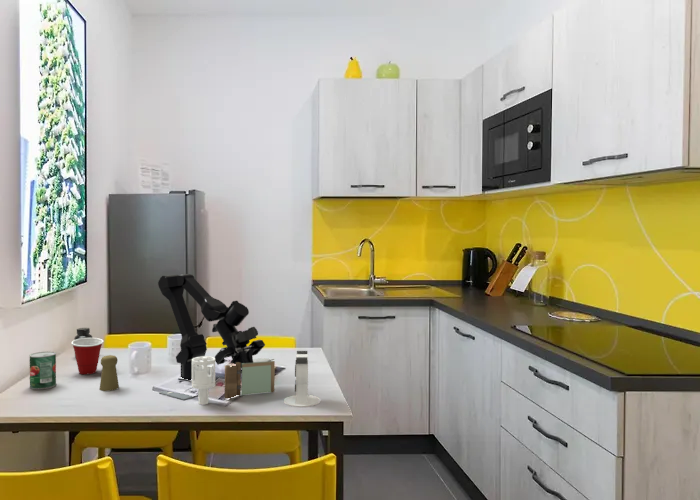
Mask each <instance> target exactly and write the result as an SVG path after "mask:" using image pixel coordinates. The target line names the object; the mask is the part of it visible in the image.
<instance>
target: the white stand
mask: <svg viewBox="0 0 700 500" xmlns="http://www.w3.org/2000/svg"><path fill="white" fill-rule="evenodd" d="M294 377H295V381H294V382H295V383H294V392H295V395H290V396H287V397H285V398H284V400H283V402H284V404H285V405H287V406H289V407H295V408H308V407H312V406H316V405H318V404H320V402H321V399H320V398H319V397H318V396H315V395H311V394H310V395H309V394H308V393H309V388H308V387H309V384H308V383H309V354H308V350H297V351H296V358H295V365H294Z"/></svg>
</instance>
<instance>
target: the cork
mask: <svg viewBox="0 0 700 500" xmlns="http://www.w3.org/2000/svg"><path fill="white" fill-rule="evenodd" d="M117 364H118V357H117V356H116V355H111V354H109V355H103V356H102V357H101V358H100V366H101V368H102V369H101V375H100V383H99V391H101V392H102V391H103V392H111V391H116V390H117V389H119V388H120V386H119V385H120V384H119V379H118V372H117Z"/></svg>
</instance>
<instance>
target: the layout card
mask: <svg viewBox="0 0 700 500" xmlns="http://www.w3.org/2000/svg"><path fill="white" fill-rule="evenodd" d="M158 394H159V395H162V396H166V397H171V398H174V399H177V400H181V401H186V400H189V399H193V398H192V396H189V395H185V394H180V393H174V392H167V391H166V390H163V391H160V392H159V393H158Z"/></svg>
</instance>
